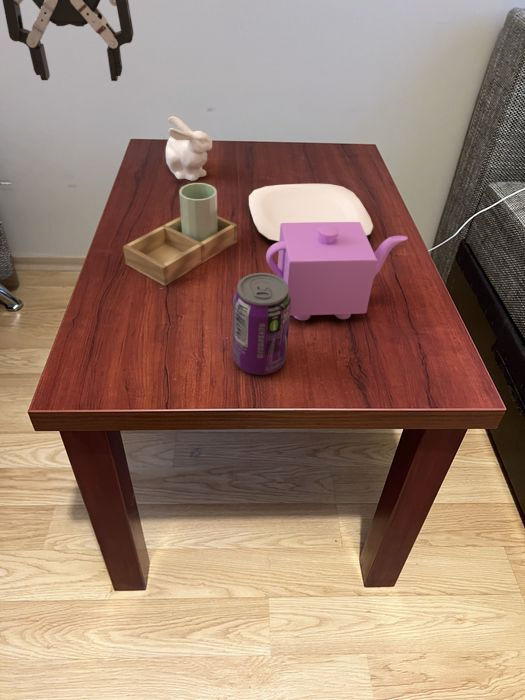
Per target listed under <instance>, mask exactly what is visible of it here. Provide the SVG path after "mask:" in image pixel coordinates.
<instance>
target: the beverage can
mask: <svg viewBox="0 0 525 700" xmlns="http://www.w3.org/2000/svg"><path fill="white" fill-rule="evenodd" d="M233 295H234V296H233V299H232V301H233V302H232V358H233V361H234V363H235V365H236V366H237V367H238V368H240V369H241V370H242V371H245V372H247V373H249V374H253V375H268V374H272V373H275V372H277V371H279V370H280V369H281V368H282V367H284V365H285V363H286V360H287V352H288V351H287V350H288V341H289V331H290V321H291V316H290V310H291V297H290V295H289V293H288V285H287V283H286V282H285V281H284V280H283V279H282V278H280V277H279V276H276V274H274V273H269V272H255V273H254V272H253V273H249V274H248V275H245V276H244V277H242V278H241V279H240V280H238V282H237V286H236V290H235V293H234V294H233Z"/></svg>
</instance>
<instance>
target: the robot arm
mask: <svg viewBox="0 0 525 700" xmlns="http://www.w3.org/2000/svg"><path fill="white" fill-rule="evenodd" d="M23 1H24V0H2V6H3V10H4V15H5V16H4V17H5V21H6V26H7V32H8V36H9V38H10V40H11V41H13V42H19V43H22V44H24V45H26V46H27V48H28V50H29V54H30V55H29V56H30V60H31V63H32V68H33V72H34V73H35V75H36V76H40V80H41V81H48V80H49V79H50V78H51V77H50V76H51V74H50V69H49V64H48V60H47V55H46V50H45V45H44V43H42V41H41V40H42V38H43V36H44V34H45V31H46V30H47V28H48V26H49V24H50V22H51V23H52V24H53V25H55V26H56V27H65V26H69V25H70V26H74V27H85V26H86V25H88V24H89V26H90V27H91V28H92V29H93V30H94V32H95V33H97V34H98V35H99V36H100V37H101V39H102V40H103V41H104V42H105V43H106V44H107V48H106V54H107V61H108V67H109V74H110V75H109V76H110V80H111V82H118V80H119V77H121V76H122V73H123V63H122V55H121V46H123V45H125V44H131V43H132V41H133V38H134V28H133V27H134V26H133V22H132V16H131V8H130V3H129V0H108V1H109V3H110V5H112V6H113V7H116V10H117V15H118V21H119V22H118V23H119V27H120V30H119V31H115V29H114V28H113V26H112V25H111V24H110V22H109V21H108V19H107V18H106V16H105V15H104V14H103V13H102V11H101V10H100V8H98V6H99V4H100V2H101V0H31V1H32V2H33V3H34V5H35V6H36V7H37V8H38V9H39V12H38V13H37V16H36V18H35V20H34V21H33V24H32V27H31V29H30V30H29V29H26V28H24V23H23V18H22V11H21V5H20V4H21V3H23Z"/></svg>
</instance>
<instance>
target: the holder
mask: <svg viewBox="0 0 525 700" xmlns="http://www.w3.org/2000/svg"><path fill="white" fill-rule="evenodd" d="M217 224H218V233H216V234H214V235H213V236H211V237H209V238H207V239H206V240H204V241H202V242H199V241H197V240H195V239H193V238H191V237H189V236H186V235H184V234H182V225H181V216H179V217H176V218H175V219H172V220H170V221H169V222H167V223H165V224H163V225H161V226H160V227H159V226H158V227H157V228H155V229H153V230H151V231H150V232H148V233H146V234H144V235H142V236H140V237H138V238H136V239H135V240H132V241H131V242H129V243H126V244H124V245H123V246H122V250H123V255H124V262H125V263H124V264H125V265H126V266H128V267H130V268H131V269H133V270H135V271H136V272H139V273H140V274H142V275H144V276H146V277H148V278H149V279H152V280H153V281H155V282H156V283H158V284H160V285H162V286H164V287H166V286H168V285H169V284H171V283H173V282H175V281H176V280H177V279H179V278H181V277H183V276H184V275H186V274H187V273H189V272H190V271H192V270H194V269H196V268H197V267H198V266H201V265H202V264H204V263H205V262H207V261H208V260H210V259H212V258H214V257H215V256H216V255H218V254H221V253H222V252H223V251H225V250H226V249H228V248H229V247H231V246H233V245H235V244H236V243H238V224H237V223H235V222H233V221H231V220H228V219H226V218H224V217H221V216H219V215H217Z"/></svg>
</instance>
